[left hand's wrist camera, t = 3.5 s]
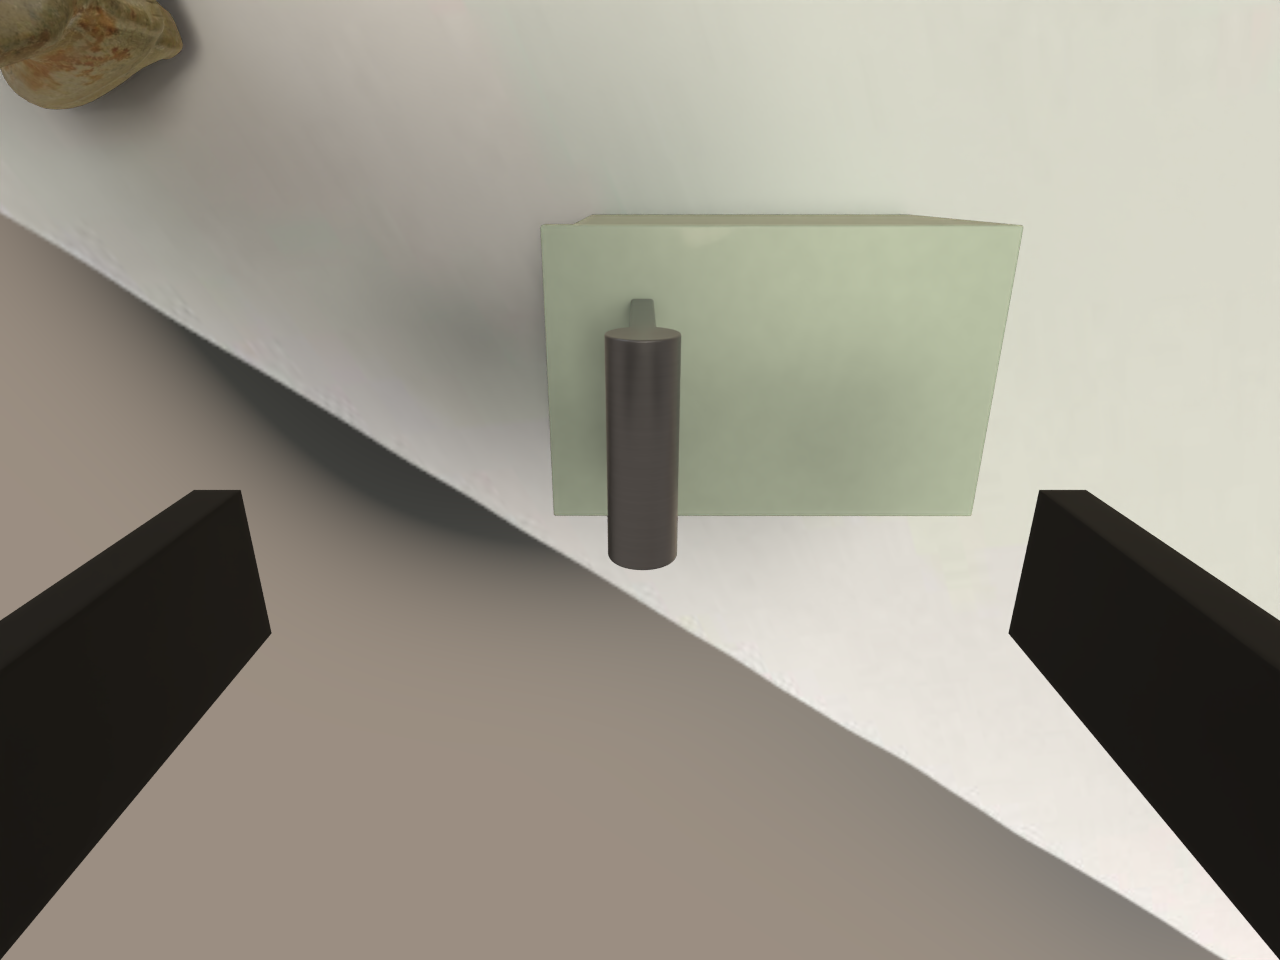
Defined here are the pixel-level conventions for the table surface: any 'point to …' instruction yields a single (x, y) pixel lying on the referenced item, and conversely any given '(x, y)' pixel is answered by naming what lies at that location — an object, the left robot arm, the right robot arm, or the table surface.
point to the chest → (772, 219)
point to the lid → (769, 370)
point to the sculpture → (80, 46)
